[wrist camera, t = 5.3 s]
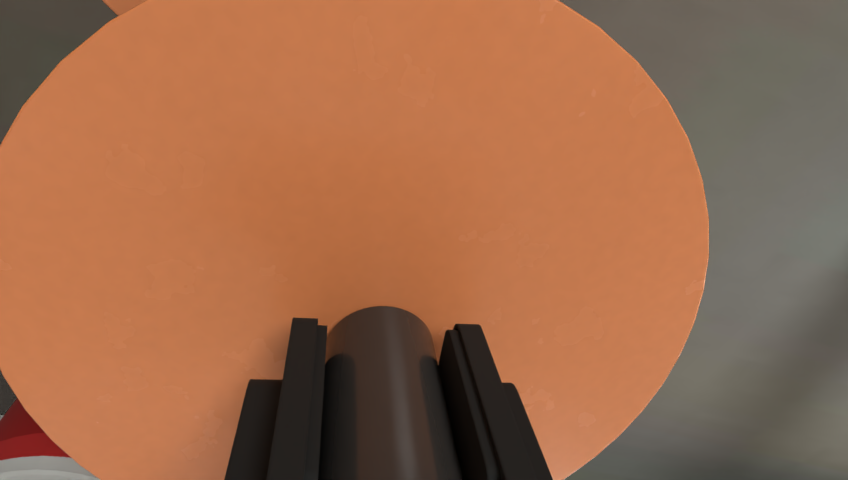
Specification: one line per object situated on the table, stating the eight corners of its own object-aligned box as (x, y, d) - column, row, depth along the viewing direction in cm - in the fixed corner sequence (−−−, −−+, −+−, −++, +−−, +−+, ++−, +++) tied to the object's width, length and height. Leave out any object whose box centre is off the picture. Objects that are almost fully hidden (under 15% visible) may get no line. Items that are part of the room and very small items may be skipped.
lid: (458, -304, 7) (759, -1055, 2) (755, 331, 15) (981, 533, 10) (-161, 296, 11) (-690, 635, 5) (344, 566, 18) (341, 815, 13)
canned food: (44, 309, 27) (-114, 492, 18) (191, 289, 28) (114, 453, 18) (99, 404, 31) (-6, 597, 22) (227, 384, 32) (179, 561, 22)
